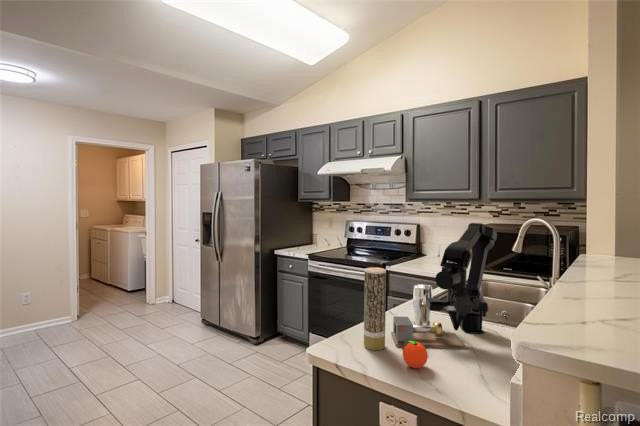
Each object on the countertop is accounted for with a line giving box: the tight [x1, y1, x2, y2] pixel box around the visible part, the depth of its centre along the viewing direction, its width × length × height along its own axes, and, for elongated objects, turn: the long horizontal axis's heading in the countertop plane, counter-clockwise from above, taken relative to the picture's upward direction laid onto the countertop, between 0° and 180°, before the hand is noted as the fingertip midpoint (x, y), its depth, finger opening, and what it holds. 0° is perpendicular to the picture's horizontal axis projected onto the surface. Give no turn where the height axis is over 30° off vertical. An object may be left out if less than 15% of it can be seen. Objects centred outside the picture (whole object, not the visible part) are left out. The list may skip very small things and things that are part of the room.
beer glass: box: [412, 283, 434, 326], centre depth 130 cm, size 7×7×15 cm
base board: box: [390, 331, 467, 350], centre depth 116 cm, size 22×10×1 cm, turn 87°
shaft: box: [413, 322, 444, 337], centre depth 116 cm, size 12×5×5 cm, turn 87°
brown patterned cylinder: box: [363, 267, 387, 351], centre depth 111 cm, size 7×7×25 cm
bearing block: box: [392, 316, 414, 343], centre depth 116 cm, size 5×8×6 cm, turn 177°
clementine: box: [402, 341, 429, 369], centre depth 99 cm, size 8×7×7 cm
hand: (455, 329), depth 116 cm, fingers closed
